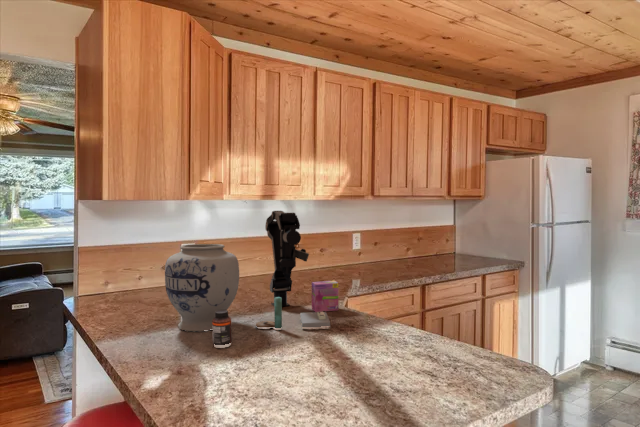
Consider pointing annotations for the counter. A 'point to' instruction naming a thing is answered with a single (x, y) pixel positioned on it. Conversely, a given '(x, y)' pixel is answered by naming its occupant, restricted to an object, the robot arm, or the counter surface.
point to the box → (325, 296)
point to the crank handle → (277, 315)
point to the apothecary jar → (201, 283)
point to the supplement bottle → (222, 328)
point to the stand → (314, 319)
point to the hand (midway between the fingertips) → (288, 281)
